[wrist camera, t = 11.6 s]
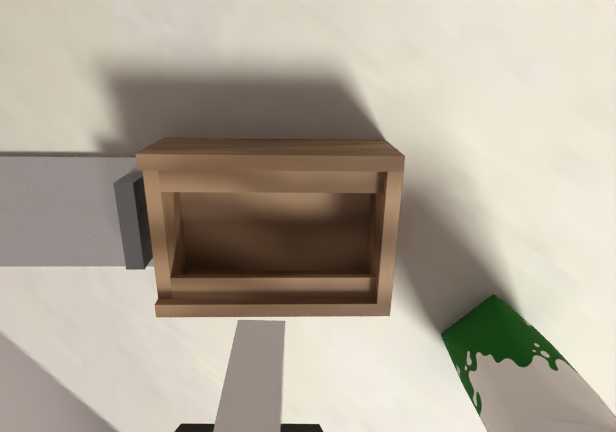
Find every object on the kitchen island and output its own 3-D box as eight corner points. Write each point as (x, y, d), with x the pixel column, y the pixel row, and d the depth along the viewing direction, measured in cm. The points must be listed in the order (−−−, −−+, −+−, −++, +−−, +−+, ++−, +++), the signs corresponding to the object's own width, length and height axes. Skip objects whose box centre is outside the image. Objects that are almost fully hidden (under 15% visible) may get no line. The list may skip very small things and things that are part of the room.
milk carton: (541, 333, 46) (713, 520, 27) (474, 380, 48) (591, 585, 29) (495, 282, 43) (649, 449, 25) (427, 334, 45) (521, 525, 27)
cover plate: (-23, 154, 38) (-62, 165, 34) (166, 155, 38) (151, 166, 34) (5, 261, 42) (-27, 283, 37) (177, 261, 42) (165, 283, 38)
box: (163, 138, 37) (135, 154, 31) (385, 140, 38) (404, 156, 31) (177, 277, 42) (156, 317, 35) (375, 277, 43) (389, 316, 36)
